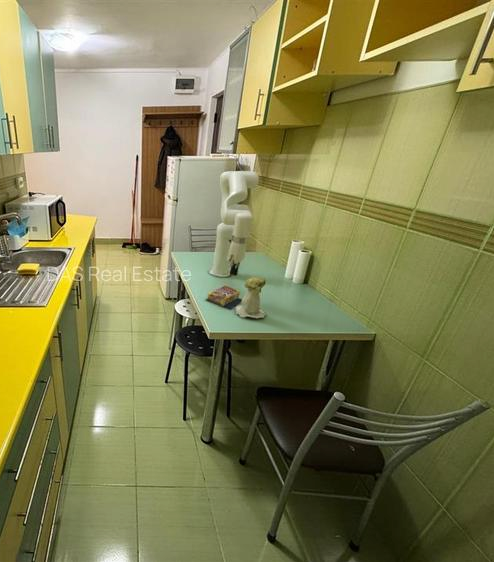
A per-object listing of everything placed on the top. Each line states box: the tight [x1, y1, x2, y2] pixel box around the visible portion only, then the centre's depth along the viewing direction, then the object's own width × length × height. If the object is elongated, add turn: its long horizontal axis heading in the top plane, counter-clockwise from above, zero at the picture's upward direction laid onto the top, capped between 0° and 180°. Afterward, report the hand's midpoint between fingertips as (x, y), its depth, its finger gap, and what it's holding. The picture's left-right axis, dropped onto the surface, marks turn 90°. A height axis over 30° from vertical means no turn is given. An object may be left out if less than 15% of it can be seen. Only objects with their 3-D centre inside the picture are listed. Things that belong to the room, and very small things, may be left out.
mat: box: [206, 297, 243, 310], centre depth 154 cm, size 14×13×1 cm
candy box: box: [206, 285, 241, 307], centre depth 154 cm, size 9×4×15 cm
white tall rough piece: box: [235, 276, 267, 319], centre depth 138 cm, size 12×13×18 cm
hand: (233, 274), depth 153 cm, fingers closed
